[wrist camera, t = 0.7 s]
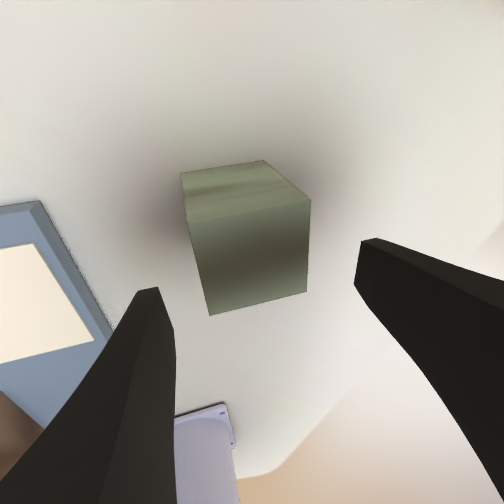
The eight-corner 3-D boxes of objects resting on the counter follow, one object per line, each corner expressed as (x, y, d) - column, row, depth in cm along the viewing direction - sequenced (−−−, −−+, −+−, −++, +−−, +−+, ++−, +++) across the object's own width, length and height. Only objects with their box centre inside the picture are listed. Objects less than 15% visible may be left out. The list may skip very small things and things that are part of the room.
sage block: (267, 231, 17) (306, 291, 12) (197, 245, 16) (209, 315, 11) (263, 159, 15) (310, 200, 10) (180, 172, 14) (187, 223, 9)
